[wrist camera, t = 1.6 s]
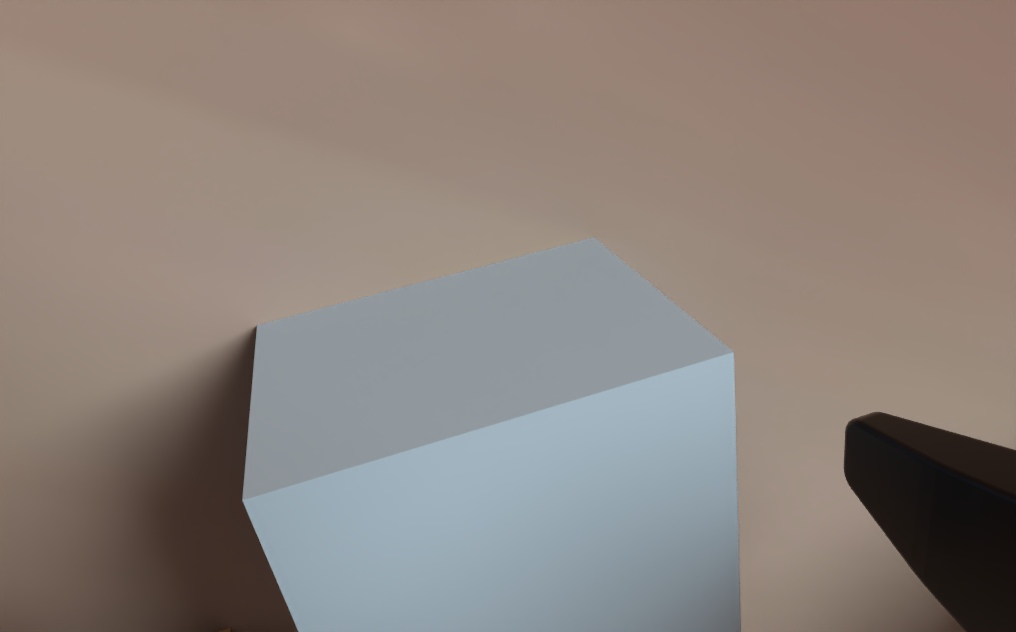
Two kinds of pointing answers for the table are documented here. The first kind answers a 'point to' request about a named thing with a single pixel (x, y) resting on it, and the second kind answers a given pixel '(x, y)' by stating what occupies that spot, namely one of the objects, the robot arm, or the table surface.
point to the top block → (499, 456)
